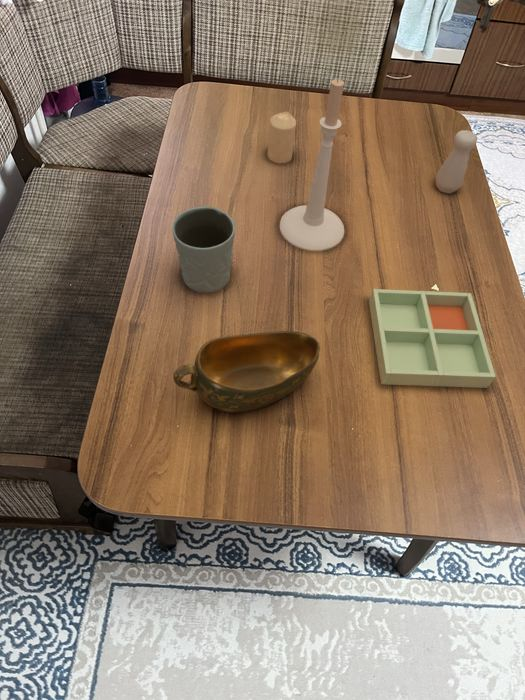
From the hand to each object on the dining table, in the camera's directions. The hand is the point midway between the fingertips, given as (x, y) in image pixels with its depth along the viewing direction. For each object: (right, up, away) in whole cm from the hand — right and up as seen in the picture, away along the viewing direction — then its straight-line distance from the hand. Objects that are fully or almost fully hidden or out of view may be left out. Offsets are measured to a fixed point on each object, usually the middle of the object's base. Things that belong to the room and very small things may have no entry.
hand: (505, 37), depth 98 cm
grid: (-17, -56, -7) cm, 59 cm away
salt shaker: (-5, -23, +18) cm, 29 cm away
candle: (-41, -15, +20) cm, 48 cm away
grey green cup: (-55, -44, -1) cm, 71 cm away
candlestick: (-35, -34, +8) cm, 49 cm away
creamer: (-47, -64, -14) cm, 80 cm away
